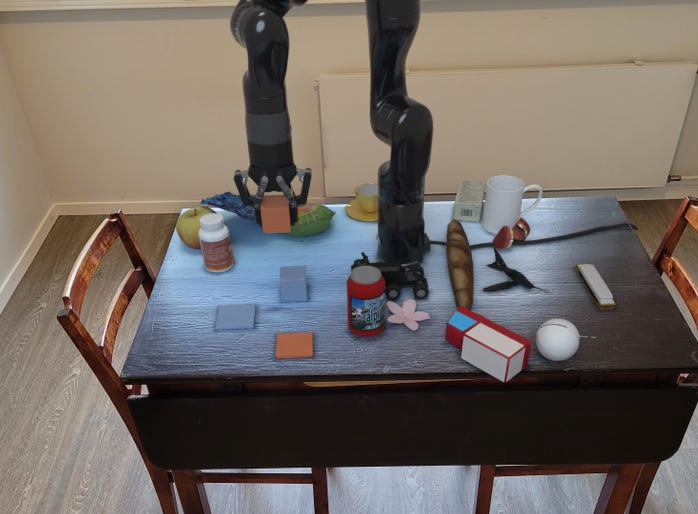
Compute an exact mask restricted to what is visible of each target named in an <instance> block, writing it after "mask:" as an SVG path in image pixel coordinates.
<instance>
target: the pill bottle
mask: <svg viewBox="0 0 698 514" xmlns="http://www.w3.org/2000/svg"><path fill="white" fill-rule="evenodd" d="M216 213H217V212H216ZM216 213H211V214H206V215H204V216H202V217H201V218H200V226H201V228H200V230H199V233H198V234H199V240H200V246H201V248H200V249H201V251H200V252H201V257H202V261H203V266H204V269H205V270H207V271H208V272H210V273H215V274H217V273H219V274H220V273H224V272H227V271H228V270H231V269H232V268H233V267H234V264H235V260H234V255H233V248H232V242H231V235H230V230H229V228H228V226H227V225H225V221H224V217H223V215H222V214H220V213H217V214H216Z"/></svg>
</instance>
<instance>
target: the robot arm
mask: <svg viewBox="0 0 698 514" xmlns="http://www.w3.org/2000/svg"><path fill="white" fill-rule="evenodd" d="M308 2H309V0H239V1H238V2H237V4H236V5H235V7H234V9H233V11H232V13H231V16H230V19H229V20H230V21H229V29H230V33H231V36H232V38H233V40H234V41H235V42H236V43H237V44H238V45H239V46H240V47H242V48H243V49H245V50H246V55H247V70H246V71H245V72H244V74H243V75H242V93H243V94H242V96H243V102H244V126H245V134H246V140H247V141H246V143H247V152H248V160H249V166H248V169H246V170H245V169H244V170H242V171H241V169H236V170H235V171H234V175H233V182H234V184H235V187H236V189H237V192H238V195H240V197H241V199H242V202H243V204H244V206H252V207H253V208H254V211H255V219H256V220H255V223H256V224H257V225H259V227H260V228H261V227H262V228H263V226H262V217H261V203H262V199H263V197H264V195H265V193H272V192H277V193H282V195H284V196H285V198H287V200H288V202H289V204H290V208H289V209H290V221H291V226H295V223H297V222H298V206H299V205H301V204H302V205H304V204H306V203H308V197H309V192H310V188H311V187H310V186H311V182H312V173H313V170H312V169H311V168H310V167H306V168H305V169H304V168H299V167H297V165H296V163H295V162H294V161H295V160H294V150H293V138H292V130H293V128H292V123H291V122H292V121H291V116H290V110H289V105H288V93H287V84H286V83H287V82H286V80H287V79H286V78H287V72H288V67H289V57H290V33H289V28H288V25H287V22H286V21H285V18H284V17H285V16H286V15H287V14H288V13H289V12H290V10H292V9H293V8H301V7H303V6H305V5H306V4H307V3H308ZM364 9H365V10H364V11H365V18H366V19H365V20H366V27H367V40H368V41H367V42H368V56H369V57H368V59H369V72H370V73H369V75H370V77H369V78H370V81H369V125H370V127H371V131H372V133H373V134H374V136H375V137H376V138H377V139H378V140H379V141H380V142H381V143H384V145H387V146H389V147H390V154H389V155H390V157H389V160H386V161H384V162H382V163H381V164H380V165H379V166H378V170H377V184H378V220H377V232H376V235H375V237H376V242H377V253H376V259H377V260H378V262H395V261H397V262H398V263H400V264H402V266H403V267H404V268H405V269H406V268H410V267H411V266H413V265H419V264H423V263H424V253H430V252H431V250H432V245H436V246H443V247H446V241H442V240H431V239H430V237H429V236H428V234H427V232H425V227H426V222H425V218H424V210H425V208H424V207H425V189H426V188H425V187H426V186H425V185H426V175H427V173H428V171H429V168H430V165H431V158H432V148H433V141H434V140H433V139H434V119H433V118H434V117H433V113H432V112H431V110H430V109H429V107H428V106H427V105H425V104H423V103H421V102H420V101H418V100H416V99H414V98H411V97H410V96H409V95H408V89H407V87H408V86H407V73H406V71H407V70H406V67H407V59H408V55H409V52H410V50H411V47H412V45H413V43H414V40H415V37H416V36H417V33H418V30H419V27H420V22H421V12H422V11H421V0H364ZM296 177H298V180H299V182H300V183H302V184H301V190H300V194H297V195H296V192H295V191H294V188H293V187H294V186H293V185H292V182H293V181H294V179H295V178H296ZM248 178H250V179H251V180H252V182H254V184H255V185H256V186H257V188H256V193H255V195H256V196H255V197H252V196H251V195H252V194H251V192H250V190H249V188H248V185H247V184H248V182H249V181H248ZM628 223H629V224H630V225H631V227H632V228H631V227H630V226H629V224H628ZM619 228H631V229H632V230H634V231H639V228H638V227H637V226H636V225H635V224H633V223H631V222H622V223H616V224H611V225H603V226H596V227H594V228H589V229H586V230H582V231H576V232H572V233H571V232H570V233H567V234H563V235H558V236H552V237H551V236H550V237H545V238H538V239H529V240H528V239H527V240H524V241H516V242H512V244H511V246H526V245H534V244H541V243H543V244H544V243H549V242H556V241H560V240H561V241H562V240H566V239H569V238H574V237H578V236H580V237H581V236H583V235H587V234H592V233H596V232H601V231H606V230H615V229H619ZM469 245H470V248H471V250H475V249H479V248H485V247H493V246H494V247H495V242H482V243H481V242H480V243H475V244H469ZM511 246H510V247H511Z"/></svg>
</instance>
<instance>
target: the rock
mask: <svg viewBox="0 0 698 514" xmlns="http://www.w3.org/2000/svg"><path fill="white" fill-rule="evenodd" d="M250 195H251V196H252V197H255V196H256V194H250ZM200 205H208V206H211V207H215V208H219V209H221V210H223V211H226V212H228V213H234V214H235V215H237V216H238V218H241V219H244V220H250V221H256V219H255V211H254V208H253V207H252V206H244V204H243V202H242V199H241V197H240V194H235V193H232V191H225V192H224V193H221V194H215V195H214V196H211V197H206V198H205V199H204V198H202V199H201V201H200Z"/></svg>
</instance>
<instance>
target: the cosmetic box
mask: <svg viewBox="0 0 698 514" xmlns="http://www.w3.org/2000/svg"><path fill="white" fill-rule="evenodd" d="M486 185H487V181H480V180H471V179H459V183H458V187H457V191H456V195H455V198H454V202H453V210H452V211H453V213H452V220H457V221H464V222H478V223H479V222H481V214H482V209H483V206H484V201H485V194H486Z"/></svg>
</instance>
